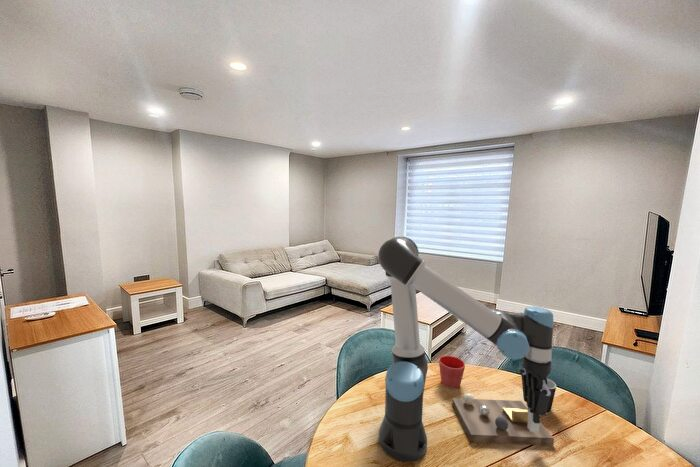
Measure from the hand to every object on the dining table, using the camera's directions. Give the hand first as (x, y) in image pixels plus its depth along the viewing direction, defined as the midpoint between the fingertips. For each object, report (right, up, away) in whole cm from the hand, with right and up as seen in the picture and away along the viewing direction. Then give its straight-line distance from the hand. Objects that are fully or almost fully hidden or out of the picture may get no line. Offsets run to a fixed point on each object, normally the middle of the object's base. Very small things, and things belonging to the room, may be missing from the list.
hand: (533, 429), depth 90 cm
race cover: (0, -2, +9) cm, 9 cm away
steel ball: (-11, 0, +9) cm, 15 cm away
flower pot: (-14, -3, +33) cm, 36 cm away
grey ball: (-8, 0, +3) cm, 9 cm away
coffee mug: (+15, -4, +20) cm, 25 cm away
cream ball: (-14, +1, +16) cm, 21 cm away
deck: (-6, -4, +10) cm, 12 cm away
